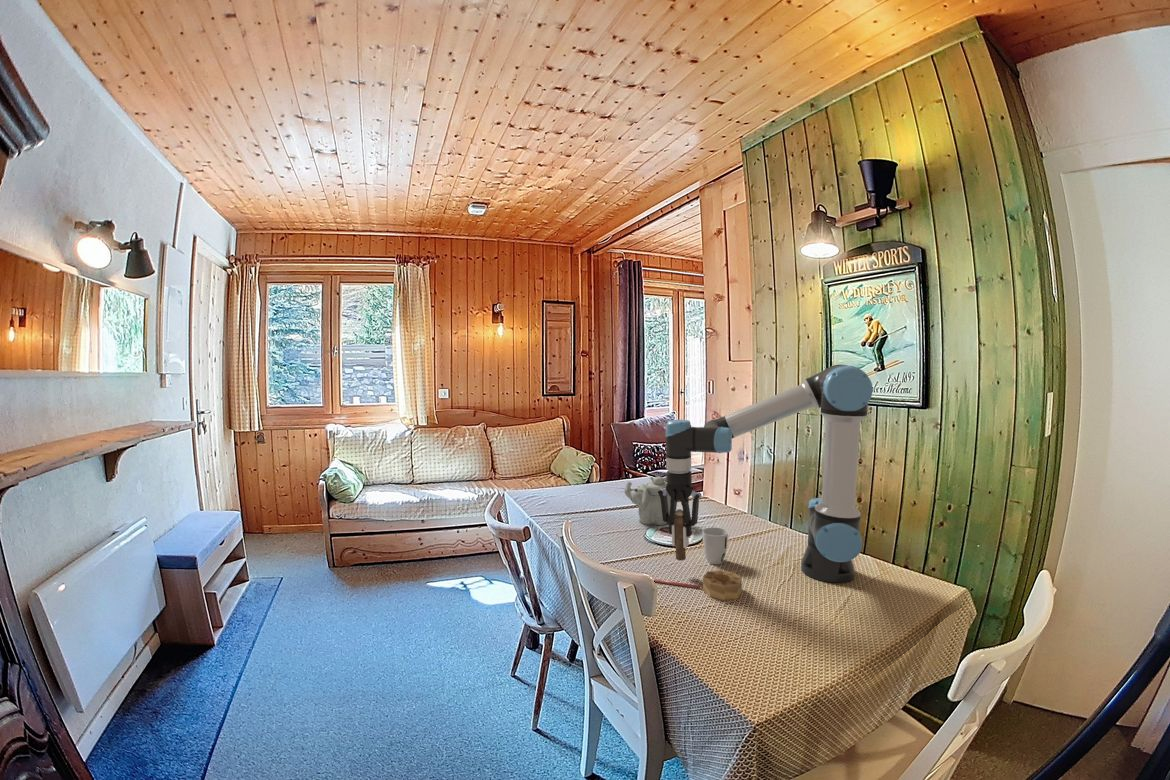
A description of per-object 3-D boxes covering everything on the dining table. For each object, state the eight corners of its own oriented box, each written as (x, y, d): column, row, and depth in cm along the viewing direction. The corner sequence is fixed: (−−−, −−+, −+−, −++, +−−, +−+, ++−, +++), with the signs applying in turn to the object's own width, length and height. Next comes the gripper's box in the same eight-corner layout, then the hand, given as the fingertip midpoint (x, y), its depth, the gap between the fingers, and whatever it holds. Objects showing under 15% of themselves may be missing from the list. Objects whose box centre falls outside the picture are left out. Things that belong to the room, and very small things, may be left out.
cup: (728, 567, 170) (728, 536, 169) (702, 565, 171) (702, 535, 171) (726, 557, 178) (727, 528, 177) (702, 555, 179) (702, 526, 178)
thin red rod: (700, 587, 156) (700, 585, 156) (700, 589, 155) (700, 586, 155) (652, 580, 161) (652, 578, 160) (651, 582, 160) (651, 579, 160)
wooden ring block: (743, 588, 155) (744, 574, 155) (735, 602, 147) (735, 588, 146) (710, 580, 160) (710, 568, 160) (699, 594, 152) (699, 581, 151)
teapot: (623, 519, 216) (622, 474, 215) (649, 512, 226) (649, 468, 224) (651, 530, 203) (651, 482, 202) (678, 522, 212) (678, 476, 211)
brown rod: (687, 557, 165) (686, 508, 164) (683, 561, 162) (682, 511, 161) (677, 555, 167) (676, 507, 165) (674, 559, 164) (673, 510, 163)
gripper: (708, 470, 162) (709, 545, 163) (659, 465, 170) (660, 537, 171) (700, 475, 155) (701, 554, 157) (649, 471, 163) (651, 545, 165)
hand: (680, 545), depth 164 cm, fingers closed on brown rod, 3 cm apart
